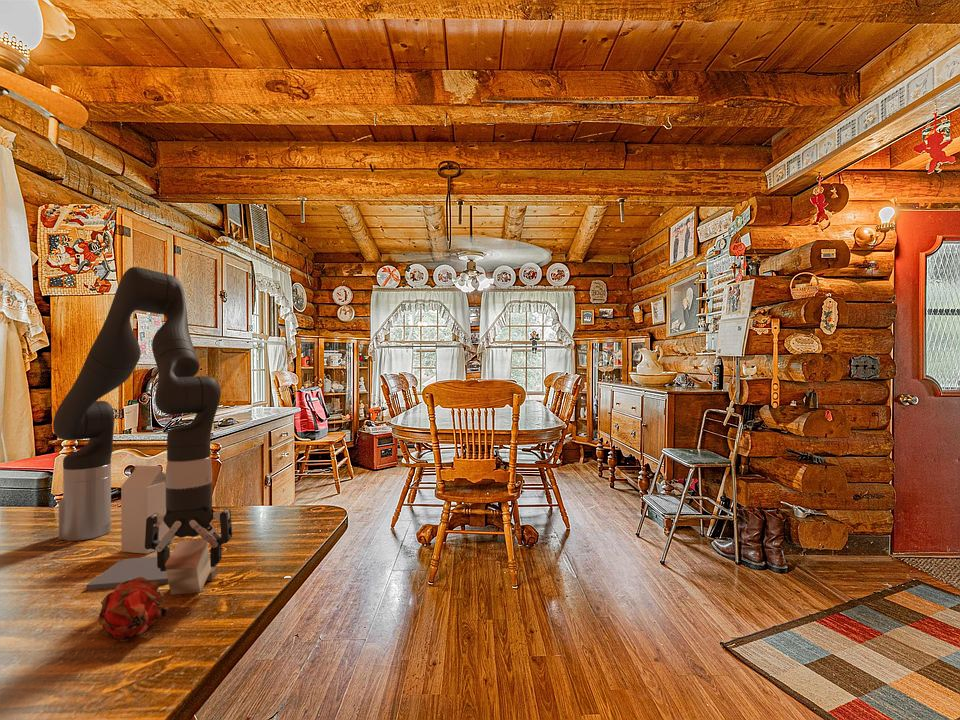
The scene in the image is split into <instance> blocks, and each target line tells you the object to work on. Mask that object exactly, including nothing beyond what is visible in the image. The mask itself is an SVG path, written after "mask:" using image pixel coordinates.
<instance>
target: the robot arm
mask: <svg viewBox="0 0 960 720" xmlns="http://www.w3.org/2000/svg"><path fill="white" fill-rule="evenodd" d="M135 311H141V312H144V313H145V312H146V313H151V314H157V315H164V316H165V318H166V320H165V321H164V323H163V324H162V325H161V326H160V327H159V328H158V329H157V331H156V332H155V334H154V335H153V338H152V341H151V342H152V343H151V350H152V354H153V358H154V360H155V364H156V368H157V375H158V377H157V384H156V390H155V396H154V397H155V401H154V402H155V405H156V407H157V409H158V410H159V411H160V412H162V413H163V414H164V415H169V416H174V415H175V416H176V415H187V414H188V415H189V414H196V415H195V416H194V418H193V419H192V421H191V422H189V423H187V424H183V425H180V426H177V427H174V428H172V429H170V430H168V433H167V435H166V468H165V474H166V478H165V484H166V514H165V515H159V514H158V513H154V514H153V515H151V516H150V517H148V518H147V519H146V533H145V548H146V549H153V550H154V551H156V554H157V555H156V557H157V567H158V569H159V568H160V571H161V572H162V571H166V568H165V564H166V562H167V560H168V559H169V557H170V555H171V553H170V552H171V550H170V549H171V548H170V547H168V546H169V545H170V544H171V543H170V542H171V541H172V540H173V541H174V539H175V537H178V539H181V538H186V537H191V538H196V537H198V536H200V537H201V538H202V540H206V541H207V543H208V545H210V546H211V547H210V549H209V555H210V566H211V567H215V566H218V565H219V563H220V562H221V561H222V554H223V551H222V550H223V549H222V545H224V544H228V542H230V540H231V539H232V538H233V526H232V525H233V524H232V511H231V509H230V508H228V507H227V508H225V509H224V510H218V511H217V510H216V511H215V510H214V508H213V467H212V465H213V464H212V457H211V435H212V429H213V424H214V421H215V418H216V413H217V410H218V407H219V404H220V401H221V395H222V394H221V387H220V384H219V382H218V381H217V380H216V379H215V378H214V377H212V376H207V375H206V376H205V375H204V376H203V375H202V376H200V375H199V376H196V375H197V374H198V373H199V370H200V361H199V358H198V356H197V352H196V349H195V347H194V344H193V342H192V339H191V335H190V331H189V321H188V312H187V303H186V297H185V290H184V287H183V285H182V281H181V280H180V279H179V278H177V277H176V276H173V275H171V274H168V273H164V272H159V271H156V270H151V269H147V268H144V267H139V266H132V267H129V268H128V269H126V270H125V272H124V273H123V275H122V277H121V278H120V281H119V283H118V285H117V288H116V291H115V294H114V297H113V300H112V302H111V305H110V308H109V311H108V313H107V316H106V318H105V321H104V323H103V325H102V327H101V329H100V330H99V332H98V334H97V336H96V338H95V340H94V342H93V344H92V346H91V348H90V350H89V351H88V354H87V356H86V358H85V361H84V362H83V365H82V368H81V369H80V372H79V374H78V375H77V377H76V380H75V381H74V383H73V385H72V387H71V388H70V390H69V391H68V393H66V395H65V397H64V399H63V400H62V401H61V403H60V405H59V406H58V408H57V410H56V412H55V415H54V418H53V422H52V426H53V427H52V429H53V432H54V434H55V436H56V437H57V438H58V439H60V440H63V441H78V440H86V439H88V442H87V443H86V444H85V445H84V446H83V447H81V448H80V449H77V450H75V451H73V452H71V453H70V454H67V455H66V456H64V458H63V461H62V466H63V467H62V480H63V481H62V482H63V483H62V484H63V485H62V492H63V493H62V494H63V495H62V497H63V498H62V499H59V501H58V540H61V541H62V540H64V541H69V542H75V541H84V540H90V539H95V538H98V537H101V536H105V535H106V534H108V533H110V532H111V531H112V456H113V451H114V449H113V447H114V446H113V445H114V431H115V430H114V429H115V413H114V408H113V406H112V405H111V404H110V402H108V401H105V400H100V399H101V398H102V397H104V396H105V395H107V394H109V393H111V392H112V391H114V390H116V389H117V388H118V387H120V386H121V385H122V384H124V383H125V382H126V381H127V380H128V379H129V378H130V377H131V376H132V374H133V372H134V371H135V369H136V366H137V365H138V363H139V361H140V359H141V353H142V352H141V347H140V344H139V341H138V339H137V337H136V335H135V333H134V330H133V327H132V323H131V317H132V314H133V313H134V312H135ZM214 519H215V520H216V522H217V523H219V524H220V527H219V528H220V534H219V533H218V532H217V528H216V527H215V526H213V524H212V522H213V520H214ZM163 521H164V523H165V524H166V525H167V527H168V528H169V531H168V532H167V533H166V535H165V536H164V537H163V538H162V540H161V541H160V540H158V535H159V526H160V525H161V524H162V522H163Z"/></svg>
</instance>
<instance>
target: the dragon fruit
mask: <svg viewBox="0 0 960 720" xmlns="http://www.w3.org/2000/svg"><path fill="white" fill-rule="evenodd" d="M160 585H161V584H160V583H158V582H157V581H147V580H146V579H145V578H143V577H138V578H135V579H133V580H128V581H125V582H122V583H120V584H119V585H118V586H117V587H116V588H114V590H113V592H109V593H108V594H107V595H105V597H104V598H103V599H102V600H101V602H100V605H101V608H100V609H101V610H100V612H99V615H98V617H97V623H98V625H101V626H102V630H103V631H104V633H105V634H112V637H113V638H115V639H116V640H117V642H121V643H127V642H130V640H131V639H132V638H133V636H134V635H138V636H140V635H143V634H144V633H146V631H147V630H148V629H149V628H150V627H151V626H152V625H153V624H154V622H156V621H158V620H160V619H162V618H164V617H165V616H166V615H167V614H168V611H169V608H170V607H168V606H166V607H164V608H162V607H161V606H162V603H163V601H164V600H163V599H164V597H165V595H163V594H162V593H161V592H160V591H158V590H159V588H160ZM129 639H130V640H129Z"/></svg>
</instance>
